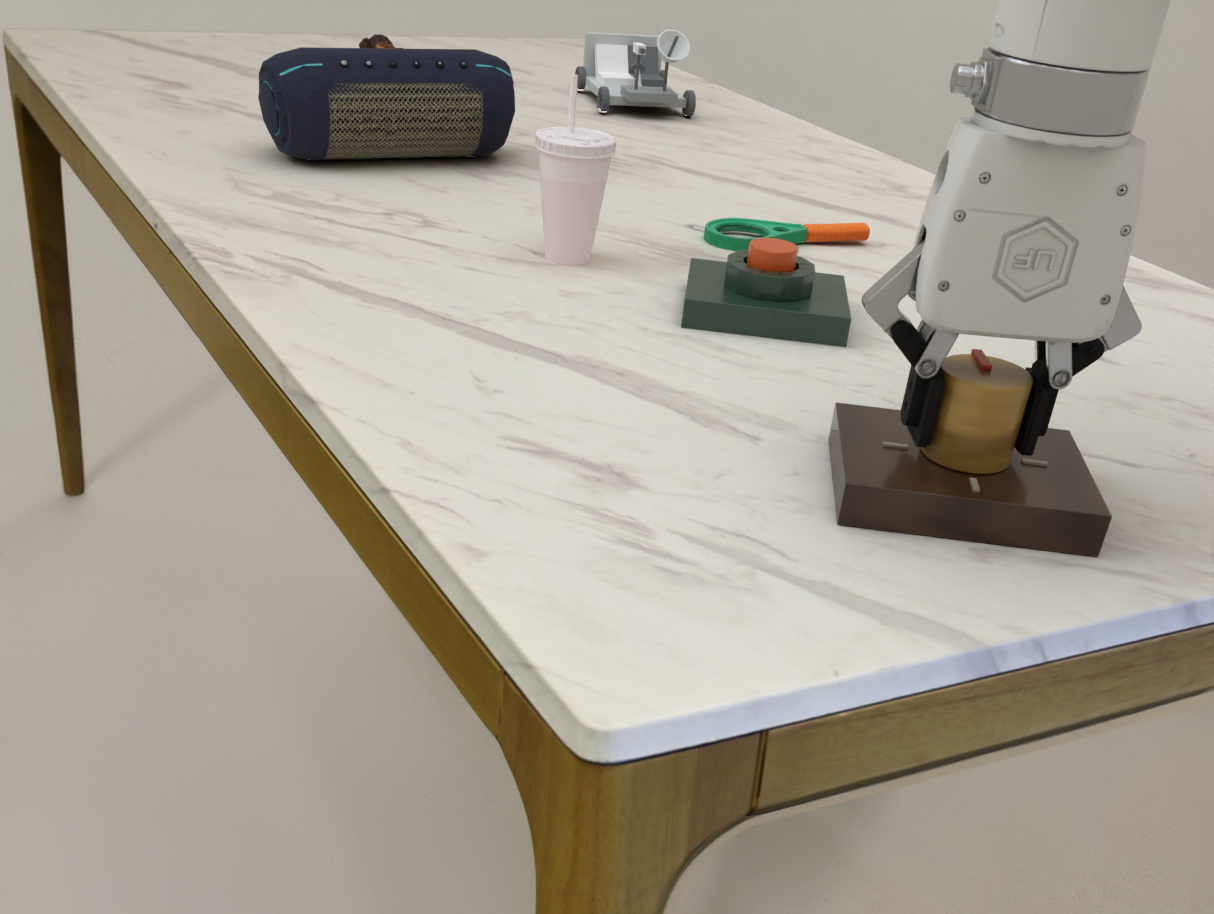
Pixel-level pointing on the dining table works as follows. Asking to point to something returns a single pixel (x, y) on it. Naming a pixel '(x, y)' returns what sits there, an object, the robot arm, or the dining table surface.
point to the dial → (979, 413)
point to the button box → (767, 301)
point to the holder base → (963, 488)
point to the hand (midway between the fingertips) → (968, 438)
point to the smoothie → (572, 185)
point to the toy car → (634, 69)
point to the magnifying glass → (780, 232)
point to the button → (772, 255)
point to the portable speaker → (386, 102)
